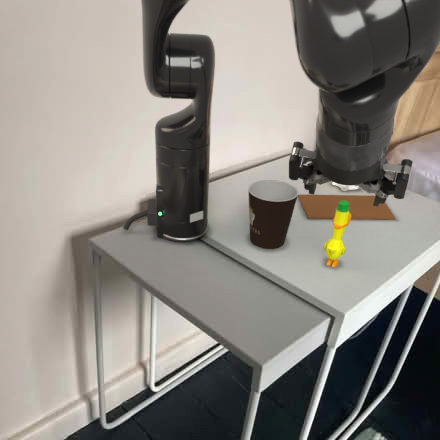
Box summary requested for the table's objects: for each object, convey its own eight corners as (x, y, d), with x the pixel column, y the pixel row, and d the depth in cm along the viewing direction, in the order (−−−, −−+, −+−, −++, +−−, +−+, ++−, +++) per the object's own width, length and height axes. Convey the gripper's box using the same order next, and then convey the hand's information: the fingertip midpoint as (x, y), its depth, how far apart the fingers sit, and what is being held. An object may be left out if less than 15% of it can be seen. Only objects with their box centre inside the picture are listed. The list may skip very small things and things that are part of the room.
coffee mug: (288, 255, 88) (296, 204, 82) (240, 248, 89) (244, 197, 83) (293, 224, 97) (301, 176, 91) (250, 218, 98) (254, 171, 92)
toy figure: (328, 251, 89) (341, 190, 82) (348, 257, 88) (362, 195, 81) (316, 269, 85) (328, 205, 77) (336, 275, 83) (351, 211, 76)
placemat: (307, 218, 99) (308, 216, 99) (298, 196, 107) (298, 194, 107) (394, 219, 101) (395, 217, 100) (378, 197, 109) (379, 195, 108)
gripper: (276, 157, 52) (286, 209, 68) (417, 181, 49) (393, 230, 65) (293, 93, 53) (299, 159, 69) (432, 112, 50) (405, 176, 66)
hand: (344, 193), depth 67 cm, fingers open, 8 cm apart
